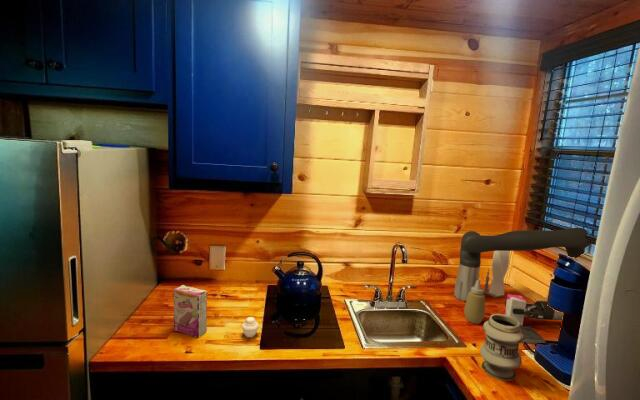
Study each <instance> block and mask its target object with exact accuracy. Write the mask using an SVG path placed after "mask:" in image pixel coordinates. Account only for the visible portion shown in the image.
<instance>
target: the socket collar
mask: <svg viewBox="0 0 640 400" xmlns="http://www.w3.org/2000/svg"><path fill="white" fill-rule="evenodd" d="M520 328H521V329H522V331H523V333H524V340H523V341H522V342H521V343H523V344H536V345H538V344H537V343H545V344H546V339H545V338H543V337H542V336H541V335H540V334H539V333H538V332H537V331H536V330H535V329H533V328H532V326H523V325H522V326H520ZM524 342H526V343H524ZM521 343H520V344H521Z"/></svg>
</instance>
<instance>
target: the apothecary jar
mask: <svg viewBox="0 0 640 400" xmlns="http://www.w3.org/2000/svg"><path fill="white" fill-rule="evenodd" d="M482 328H483V332H484V333H485V341H484V343H482V345H481V346H480V349H479V353H480V356H481V357H482V359H483V360H484V361H483V362H482V363H481V368H482V369H483V370H484V373H486V374H487V375H489V376H490V377H492V378H494V379H497V380H500V381H506V382H508V381H513V380H514V379H516V372H515V371H514V370H515V369H518V368H520V366H522V362H523V360H522V356H521V355H520V352H519V346H520V344H521V342H522V341H523V340H524V333H523V331H522V329H521V328H520V324H519V322H518V321H517V320H516V319H514V318H512V317H510V316H507V315H504V314H501V313H494V314H491V315H490V316H489V319H488V320H486V321H485V322H484V323H483V325H482Z"/></svg>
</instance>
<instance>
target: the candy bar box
mask: <svg viewBox="0 0 640 400" xmlns="http://www.w3.org/2000/svg"><path fill="white" fill-rule="evenodd" d="M207 298H208V291H207V290H205V289H200V288H196V287H192V286H189V285H184V284H182V285H180V286H178V287H175V288H174V289H173V330H174V332H176V331H177V333H181V334H183V333H184V335H187V334H188V335H187V336H191V335H192V337H194V336H196V337H195V338H198V337H199V336H200V337H201V336H203V335H204V334H205V333H206V331H207V330H208V328H207V327H208V326H207V323H208V321H207V315H208V314H207V313H208V312H207V311H208V307H207V306H208V303H207V302H208V301H207ZM207 332H208V331H207ZM203 333H204V334H203ZM202 334H203V335H202ZM200 337H199V338H200Z"/></svg>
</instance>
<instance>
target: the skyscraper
mask: <svg viewBox="0 0 640 400" xmlns="http://www.w3.org/2000/svg"><path fill="white" fill-rule="evenodd" d="M510 253H511V251H493V256H492V263H491V274H492V279H491V281H490V269H489V268H488V271H486V272H487V273H486V274H487V275H486V277H485V284H484V289H483V294H486V295H488V296H491V297H493V298H500V297H505V283H504V279H505V276H506V274H507V273H508V269H509V264H510V257H511V256H510ZM489 281H490V286H489Z"/></svg>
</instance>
